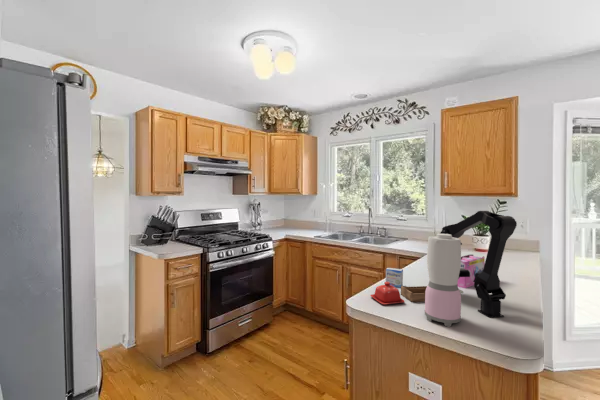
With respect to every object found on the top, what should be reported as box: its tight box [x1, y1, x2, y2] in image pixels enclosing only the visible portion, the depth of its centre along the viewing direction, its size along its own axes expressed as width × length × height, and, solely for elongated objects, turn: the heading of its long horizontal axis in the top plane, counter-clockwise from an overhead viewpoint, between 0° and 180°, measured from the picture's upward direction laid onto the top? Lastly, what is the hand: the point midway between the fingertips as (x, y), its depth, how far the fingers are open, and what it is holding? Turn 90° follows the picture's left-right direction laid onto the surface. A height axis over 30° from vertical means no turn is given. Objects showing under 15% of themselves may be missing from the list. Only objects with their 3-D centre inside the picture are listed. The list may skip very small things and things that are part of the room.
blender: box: [424, 233, 462, 328], centre depth 110 cm, size 16×12×32 cm
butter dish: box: [369, 281, 406, 305], centre depth 128 cm, size 12×12×8 cm
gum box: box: [457, 254, 486, 289], centre depth 157 cm, size 24×8×14 cm, turn 126°
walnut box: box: [400, 285, 428, 303], centre depth 132 cm, size 10×14×4 cm
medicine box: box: [385, 267, 404, 289], centre depth 150 cm, size 8×4×9 cm, turn 62°
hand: (449, 287), depth 134 cm, fingers closed
